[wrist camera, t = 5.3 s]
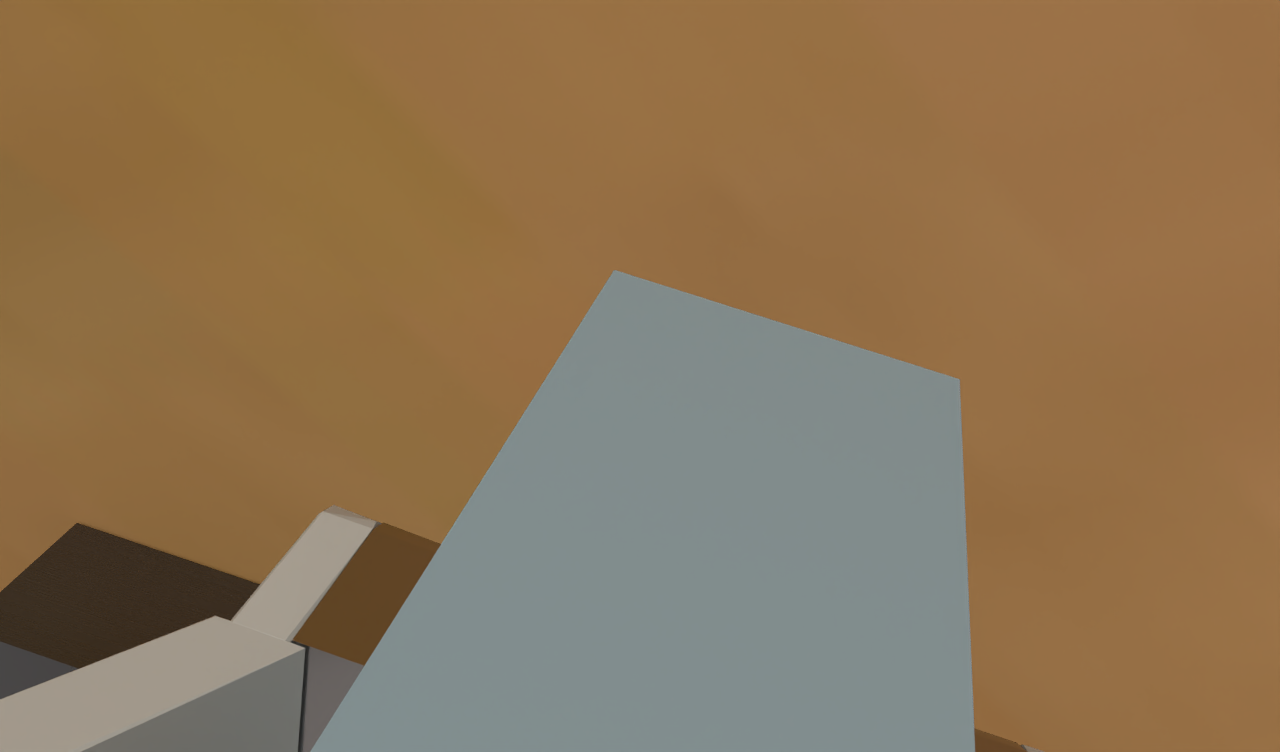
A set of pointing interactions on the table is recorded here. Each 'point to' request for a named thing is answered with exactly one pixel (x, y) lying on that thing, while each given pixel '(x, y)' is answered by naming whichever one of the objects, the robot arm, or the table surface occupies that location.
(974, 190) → the table surface
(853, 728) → the square block
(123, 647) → the hole rail
